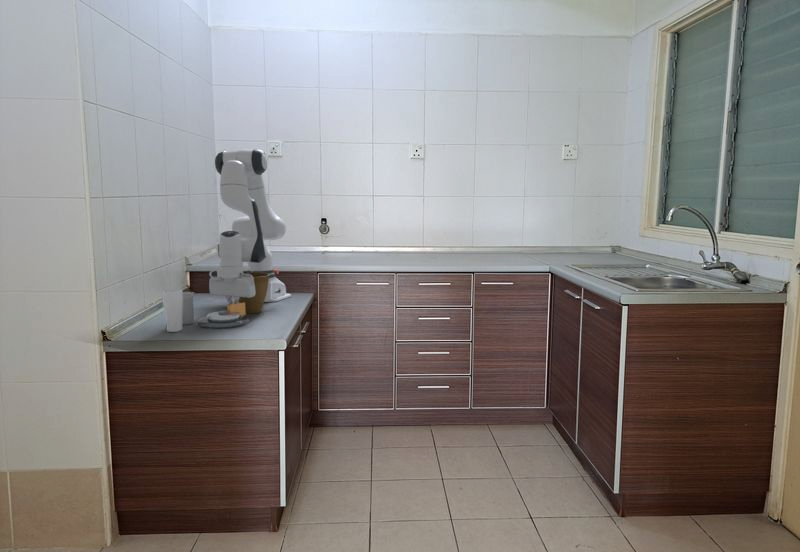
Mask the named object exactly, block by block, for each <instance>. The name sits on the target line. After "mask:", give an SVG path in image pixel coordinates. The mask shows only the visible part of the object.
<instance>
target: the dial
mask: <svg viewBox="0 0 800 552" xmlns="http://www.w3.org/2000/svg"><path fill="white" fill-rule="evenodd" d="M226 306H227V307H226V308H227V310H219V311H214V312H209V313H207V314H206V317H207V321H209V322H214V323H224V322H232V321H236V320H239V319H240V316H242V315H244V316H246V315H247V313H246V312H245V302H239V301H238V303H233V304H229V303H228V304H227V305H226Z"/></svg>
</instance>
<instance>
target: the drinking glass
mask: <svg viewBox="0 0 800 552" xmlns="http://www.w3.org/2000/svg"><path fill="white" fill-rule="evenodd" d="M183 292H184V291H183V289H182V288H167V289H163V290H162V302H163V303H162V305H163V311H164V316H165V323H166V331H167V332H169V333H178V332H181V331H182V330H183V325H182V317H183Z"/></svg>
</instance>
